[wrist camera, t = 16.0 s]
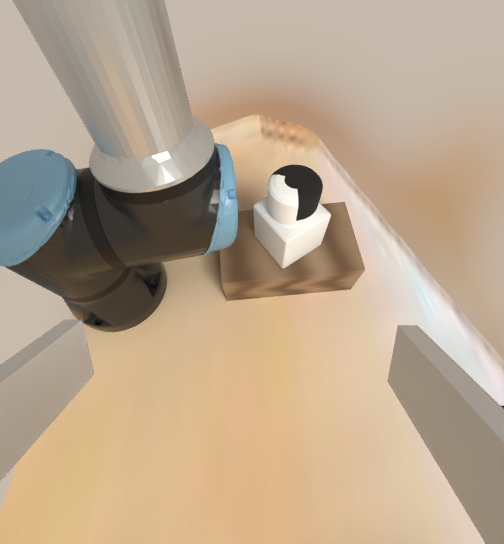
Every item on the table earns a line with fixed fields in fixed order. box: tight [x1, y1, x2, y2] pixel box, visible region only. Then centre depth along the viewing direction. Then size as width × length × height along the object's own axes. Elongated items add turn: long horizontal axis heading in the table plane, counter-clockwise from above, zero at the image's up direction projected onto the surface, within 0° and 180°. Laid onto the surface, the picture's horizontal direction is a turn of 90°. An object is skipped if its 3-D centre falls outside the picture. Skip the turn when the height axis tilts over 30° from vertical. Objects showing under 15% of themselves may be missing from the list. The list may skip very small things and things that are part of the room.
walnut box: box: [220, 202, 365, 301], centre depth 44 cm, size 20×12×7 cm, turn 95°
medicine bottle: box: [253, 165, 331, 269], centre depth 35 cm, size 7×7×12 cm
